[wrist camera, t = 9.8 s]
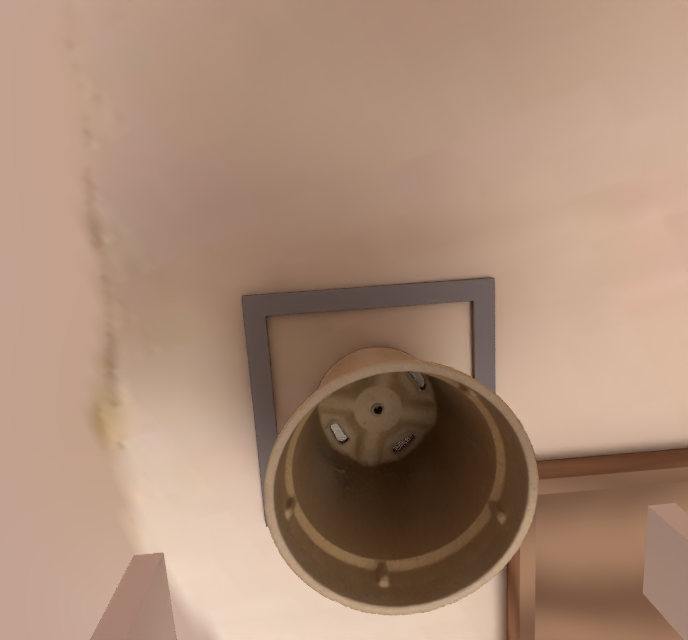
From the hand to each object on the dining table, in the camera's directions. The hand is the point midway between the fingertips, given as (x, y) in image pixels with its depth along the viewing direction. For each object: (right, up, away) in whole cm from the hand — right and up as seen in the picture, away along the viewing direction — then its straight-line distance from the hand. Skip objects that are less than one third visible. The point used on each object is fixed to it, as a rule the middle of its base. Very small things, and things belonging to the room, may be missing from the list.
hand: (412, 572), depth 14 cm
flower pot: (0, +3, +12) cm, 13 cm away
